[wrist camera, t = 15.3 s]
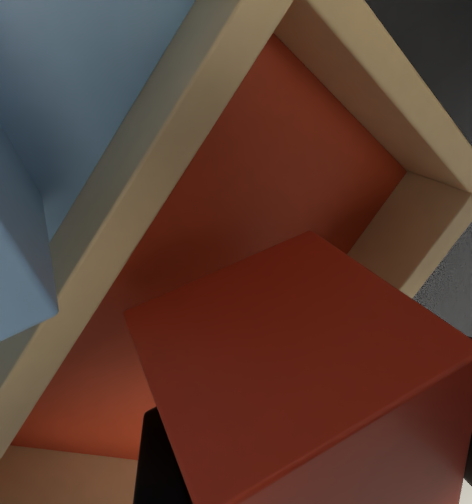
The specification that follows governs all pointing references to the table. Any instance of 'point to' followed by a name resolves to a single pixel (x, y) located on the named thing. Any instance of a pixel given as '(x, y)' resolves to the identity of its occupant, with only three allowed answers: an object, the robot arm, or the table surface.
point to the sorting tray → (196, 189)
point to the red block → (307, 383)
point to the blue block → (22, 249)
